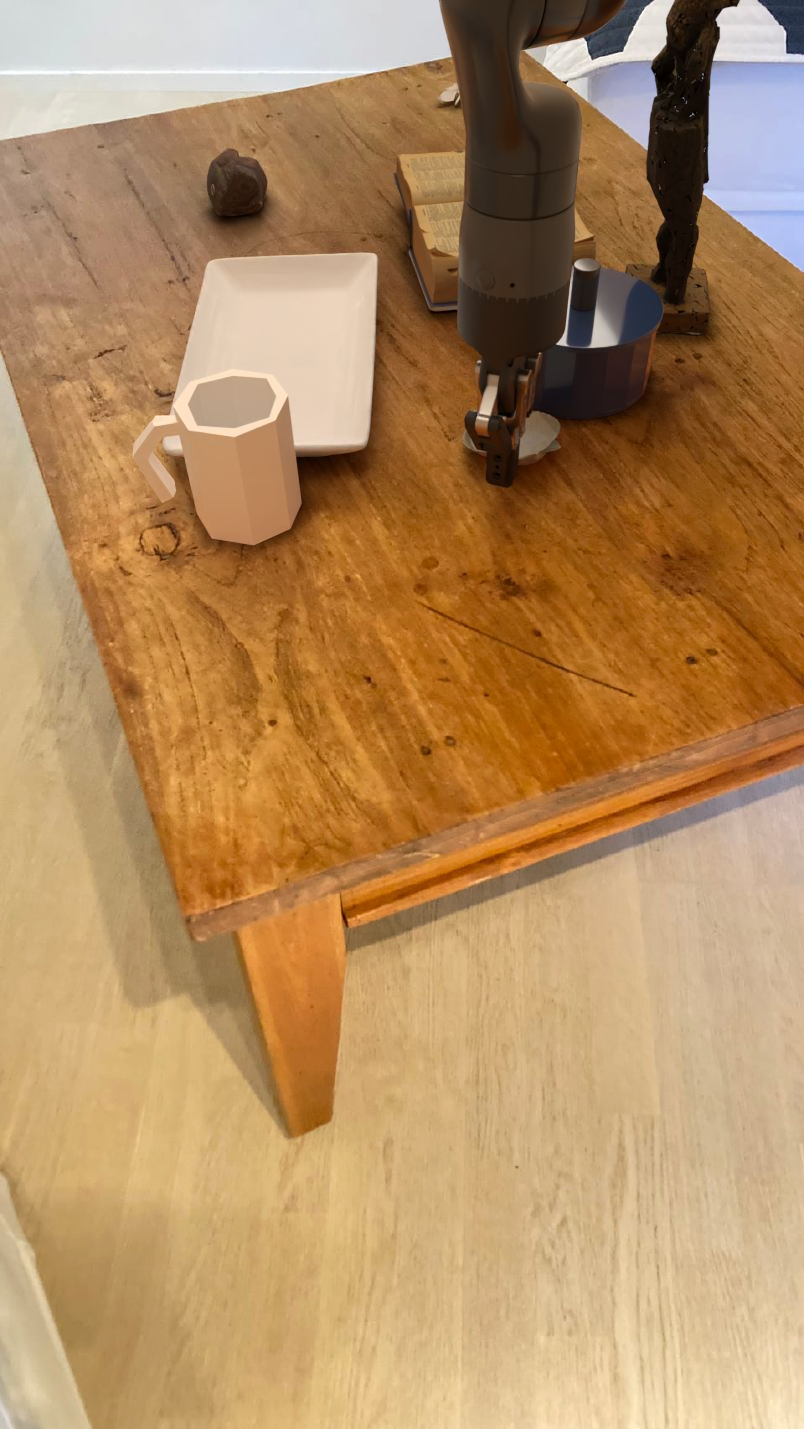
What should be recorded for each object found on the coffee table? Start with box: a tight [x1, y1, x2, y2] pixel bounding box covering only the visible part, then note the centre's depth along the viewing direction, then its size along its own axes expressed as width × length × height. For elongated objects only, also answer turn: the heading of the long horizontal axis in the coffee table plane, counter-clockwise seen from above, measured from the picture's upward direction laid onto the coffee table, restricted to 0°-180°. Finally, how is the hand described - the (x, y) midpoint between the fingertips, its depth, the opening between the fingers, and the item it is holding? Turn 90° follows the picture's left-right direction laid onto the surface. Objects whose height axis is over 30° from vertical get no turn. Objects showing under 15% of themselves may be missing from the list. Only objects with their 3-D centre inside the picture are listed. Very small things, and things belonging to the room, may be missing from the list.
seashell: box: [461, 411, 562, 466], centre depth 86 cm, size 8×3×8 cm
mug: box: [131, 369, 302, 546], centre depth 80 cm, size 12×9×10 cm
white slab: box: [161, 252, 379, 458], centre depth 94 cm, size 17×31×4 cm, turn 0°
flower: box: [436, 82, 460, 106], centre depth 134 cm, size 8×8×3 cm
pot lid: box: [550, 258, 664, 353], centre depth 88 cm, size 13×13×5 cm
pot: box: [533, 330, 657, 421], centre depth 92 cm, size 13×13×6 cm
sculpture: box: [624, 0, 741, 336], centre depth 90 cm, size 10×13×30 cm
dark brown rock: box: [206, 147, 268, 217], centre depth 116 cm, size 6×7×10 cm
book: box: [393, 150, 597, 312], centre depth 108 cm, size 25×17×6 cm
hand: (501, 480), depth 83 cm, fingers closed
